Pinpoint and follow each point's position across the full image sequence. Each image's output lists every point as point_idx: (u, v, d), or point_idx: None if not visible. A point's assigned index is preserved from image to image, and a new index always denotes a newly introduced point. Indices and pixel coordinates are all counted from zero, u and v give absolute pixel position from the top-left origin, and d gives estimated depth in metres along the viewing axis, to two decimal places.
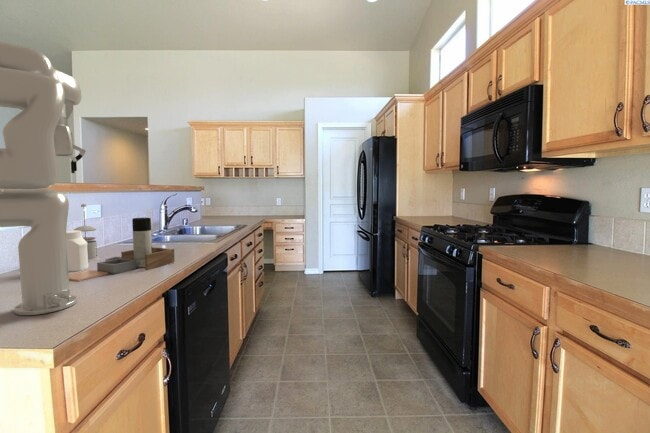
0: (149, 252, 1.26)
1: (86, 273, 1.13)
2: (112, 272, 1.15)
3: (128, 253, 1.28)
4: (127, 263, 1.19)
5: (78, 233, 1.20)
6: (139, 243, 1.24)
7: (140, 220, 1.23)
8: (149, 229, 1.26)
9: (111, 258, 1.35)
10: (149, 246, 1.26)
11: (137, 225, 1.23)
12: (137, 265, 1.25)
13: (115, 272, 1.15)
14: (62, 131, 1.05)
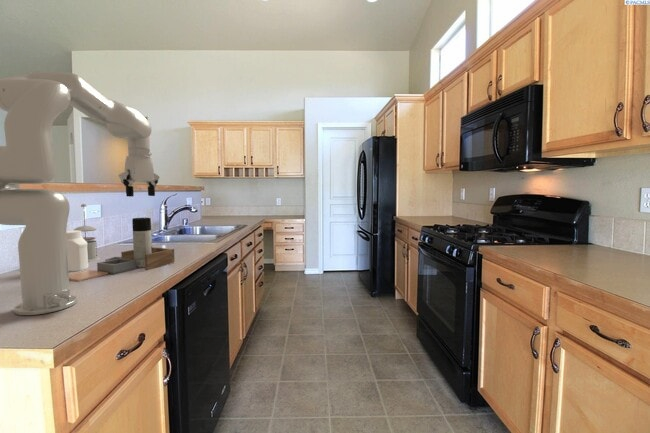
0: (149, 252, 1.26)
1: (86, 273, 1.13)
2: (112, 272, 1.15)
3: (128, 253, 1.28)
4: (127, 263, 1.19)
5: (78, 233, 1.20)
6: (139, 243, 1.24)
7: (140, 220, 1.23)
8: (149, 229, 1.26)
9: (111, 258, 1.35)
10: (149, 246, 1.26)
11: (137, 225, 1.23)
12: (137, 265, 1.25)
13: (115, 272, 1.15)
14: None
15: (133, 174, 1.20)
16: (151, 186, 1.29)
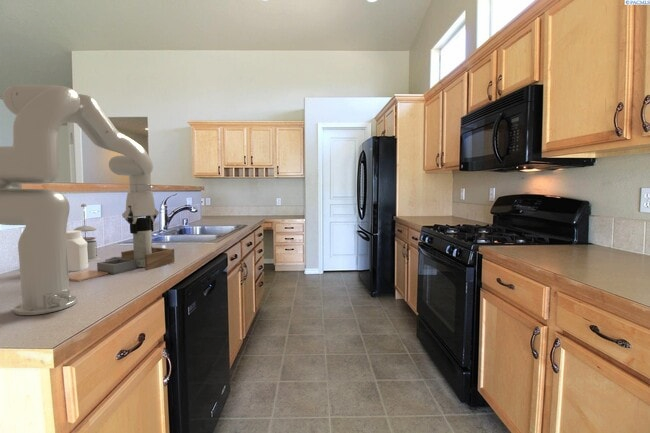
0: (149, 252, 1.26)
1: (86, 273, 1.13)
2: (112, 272, 1.15)
3: (128, 253, 1.28)
4: (127, 263, 1.19)
5: (78, 233, 1.20)
6: (139, 243, 1.24)
7: (140, 220, 1.23)
8: (149, 229, 1.26)
9: (111, 258, 1.35)
10: (149, 246, 1.26)
11: (137, 224, 1.23)
12: (137, 265, 1.25)
13: (115, 272, 1.15)
14: None
15: (134, 210, 1.21)
16: None
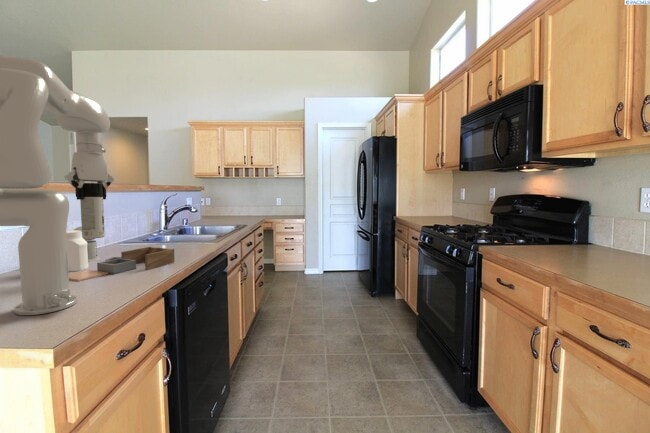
0: (99, 222, 1.12)
1: (86, 273, 1.13)
2: (112, 272, 1.15)
3: (128, 253, 1.28)
4: (127, 263, 1.19)
5: (78, 233, 1.20)
6: (86, 210, 1.09)
7: (88, 184, 1.09)
8: (99, 195, 1.12)
9: (111, 258, 1.34)
10: (99, 215, 1.12)
11: (84, 189, 1.09)
12: (84, 236, 1.10)
13: (115, 272, 1.15)
14: None
15: (80, 172, 1.07)
16: (102, 188, 1.15)
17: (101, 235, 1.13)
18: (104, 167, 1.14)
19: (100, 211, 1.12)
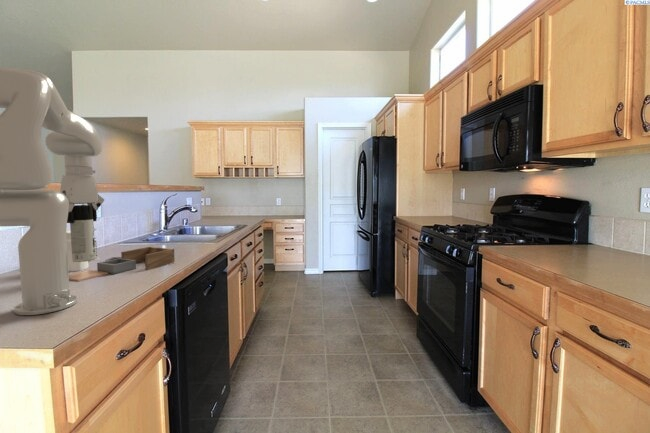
0: (90, 244, 1.10)
1: (86, 273, 1.13)
2: (112, 272, 1.15)
3: (128, 253, 1.28)
4: (127, 263, 1.19)
5: None
6: (77, 233, 1.08)
7: (77, 207, 1.07)
8: (89, 218, 1.10)
9: (111, 258, 1.34)
10: (90, 238, 1.10)
11: (74, 213, 1.07)
12: (75, 259, 1.09)
13: (115, 272, 1.15)
14: None
15: (69, 196, 1.05)
16: None
17: (92, 258, 1.11)
18: (94, 189, 1.12)
19: (90, 234, 1.11)
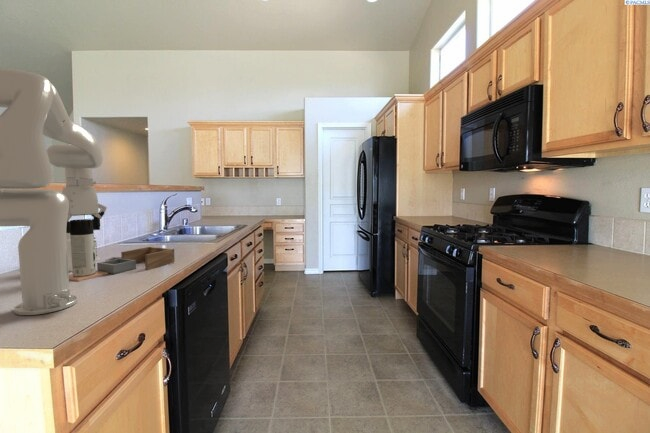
0: (90, 259, 1.10)
1: None
2: (112, 272, 1.15)
3: (128, 253, 1.28)
4: (127, 263, 1.19)
5: None
6: (77, 248, 1.08)
7: (78, 222, 1.07)
8: (90, 233, 1.10)
9: (111, 258, 1.34)
10: (90, 252, 1.10)
11: (74, 228, 1.07)
12: (75, 274, 1.09)
13: (115, 272, 1.15)
14: None
15: (70, 208, 1.05)
16: (95, 219, 1.14)
17: (92, 272, 1.11)
18: (95, 200, 1.12)
19: (91, 248, 1.11)
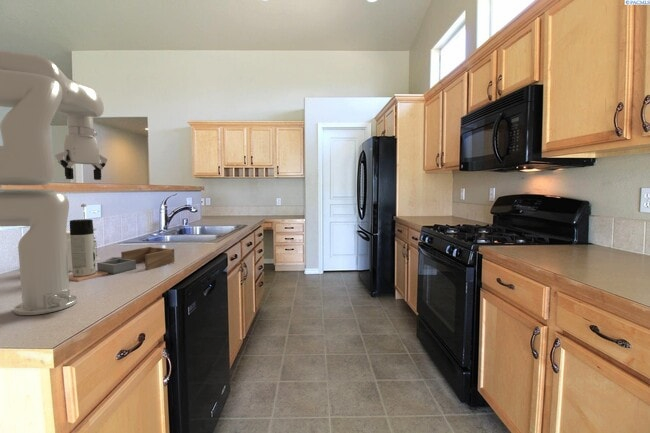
0: (90, 259, 1.10)
1: None
2: (112, 272, 1.15)
3: (128, 253, 1.28)
4: (127, 263, 1.19)
5: None
6: (77, 248, 1.08)
7: (78, 222, 1.07)
8: (90, 232, 1.10)
9: (111, 259, 1.34)
10: (90, 252, 1.10)
11: (74, 227, 1.07)
12: (75, 274, 1.09)
13: (115, 272, 1.15)
14: None
15: (72, 155, 1.10)
16: (97, 169, 1.19)
17: (92, 272, 1.11)
18: (96, 150, 1.17)
19: (91, 248, 1.11)
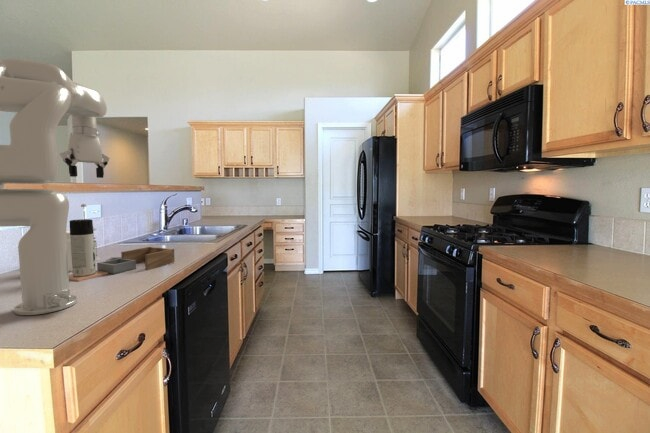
0: (90, 259, 1.10)
1: None
2: (112, 272, 1.15)
3: (128, 253, 1.28)
4: (127, 263, 1.19)
5: None
6: (77, 248, 1.08)
7: (78, 222, 1.07)
8: (90, 233, 1.10)
9: (111, 259, 1.34)
10: (90, 252, 1.10)
11: (74, 228, 1.07)
12: (75, 274, 1.09)
13: (115, 272, 1.15)
14: None
15: (76, 153, 1.15)
16: (99, 167, 1.25)
17: (92, 272, 1.11)
18: (99, 149, 1.22)
19: (91, 248, 1.11)
